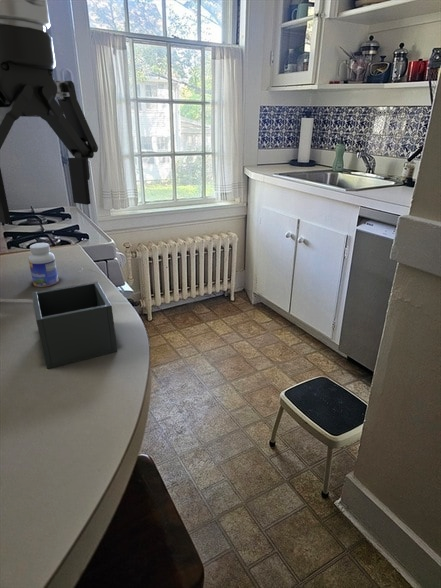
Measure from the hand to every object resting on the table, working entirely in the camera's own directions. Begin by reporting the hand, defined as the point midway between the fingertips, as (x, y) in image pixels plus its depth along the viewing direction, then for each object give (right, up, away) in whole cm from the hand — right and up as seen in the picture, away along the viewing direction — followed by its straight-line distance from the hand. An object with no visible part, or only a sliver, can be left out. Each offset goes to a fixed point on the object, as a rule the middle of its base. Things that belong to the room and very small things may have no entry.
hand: (45, 211), depth 54 cm
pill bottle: (-16, -10, +37) cm, 41 cm away
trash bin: (0, -20, +13) cm, 24 cm away
